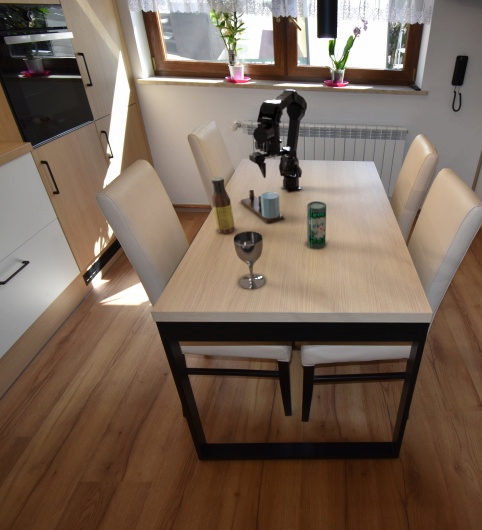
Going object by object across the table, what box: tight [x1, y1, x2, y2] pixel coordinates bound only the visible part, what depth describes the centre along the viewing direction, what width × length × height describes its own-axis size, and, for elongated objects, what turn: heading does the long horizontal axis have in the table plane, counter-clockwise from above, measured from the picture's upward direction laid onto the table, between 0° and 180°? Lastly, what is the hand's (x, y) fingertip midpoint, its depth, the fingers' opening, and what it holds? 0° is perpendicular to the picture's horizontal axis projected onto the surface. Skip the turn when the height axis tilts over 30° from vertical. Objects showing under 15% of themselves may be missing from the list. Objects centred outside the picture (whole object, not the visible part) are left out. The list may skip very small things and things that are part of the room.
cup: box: [260, 191, 281, 218], centre depth 150 cm, size 7×7×8 cm
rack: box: [240, 188, 284, 224], centre depth 156 cm, size 7×23×6 cm, turn 37°
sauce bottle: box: [211, 176, 235, 234], centre depth 138 cm, size 7×6×20 cm
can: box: [306, 200, 327, 250], centre depth 133 cm, size 6×6×15 cm
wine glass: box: [233, 230, 265, 290], centre depth 112 cm, size 8×8×15 cm
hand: (274, 175), depth 159 cm, fingers open, 9 cm apart
